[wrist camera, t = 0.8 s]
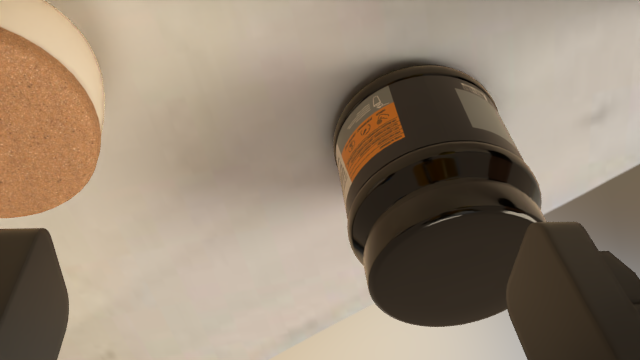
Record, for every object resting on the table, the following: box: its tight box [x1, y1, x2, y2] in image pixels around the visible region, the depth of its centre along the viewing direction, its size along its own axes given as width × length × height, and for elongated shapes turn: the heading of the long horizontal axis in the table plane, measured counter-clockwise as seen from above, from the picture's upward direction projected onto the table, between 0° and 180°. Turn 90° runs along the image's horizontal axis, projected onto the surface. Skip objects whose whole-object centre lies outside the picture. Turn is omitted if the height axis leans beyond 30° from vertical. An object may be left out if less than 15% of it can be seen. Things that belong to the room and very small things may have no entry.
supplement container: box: [333, 65, 546, 327], centre depth 34 cm, size 10×10×12 cm
